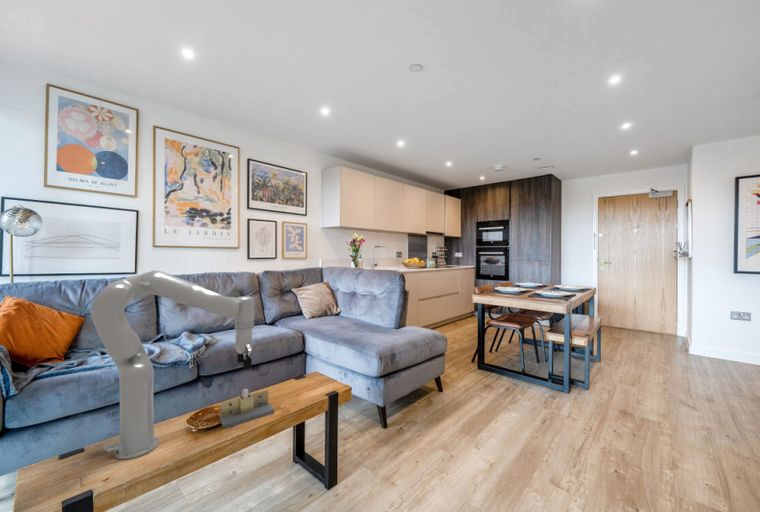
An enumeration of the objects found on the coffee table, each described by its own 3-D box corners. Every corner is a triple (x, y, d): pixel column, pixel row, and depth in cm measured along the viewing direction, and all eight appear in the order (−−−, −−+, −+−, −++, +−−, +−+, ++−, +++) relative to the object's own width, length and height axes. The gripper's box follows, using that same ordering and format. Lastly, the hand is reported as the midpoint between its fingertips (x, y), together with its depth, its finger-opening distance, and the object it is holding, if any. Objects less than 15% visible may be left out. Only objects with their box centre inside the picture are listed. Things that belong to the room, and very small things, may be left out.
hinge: (222, 419, 129) (222, 405, 129) (219, 415, 133) (219, 400, 133) (269, 406, 140) (269, 392, 140) (266, 401, 145) (266, 388, 145)
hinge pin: (243, 412, 135) (243, 391, 135) (241, 410, 137) (241, 389, 137) (249, 410, 136) (248, 389, 137) (247, 408, 138) (247, 387, 138)
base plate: (223, 428, 125) (223, 424, 125) (216, 414, 136) (216, 411, 136) (274, 413, 137) (274, 409, 137) (264, 401, 148) (264, 398, 148)
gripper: (230, 323, 142) (230, 361, 141) (240, 330, 128) (240, 372, 128) (248, 321, 146) (248, 358, 146) (259, 327, 132) (259, 368, 132)
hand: (244, 365), depth 137 cm, fingers open, 9 cm apart
